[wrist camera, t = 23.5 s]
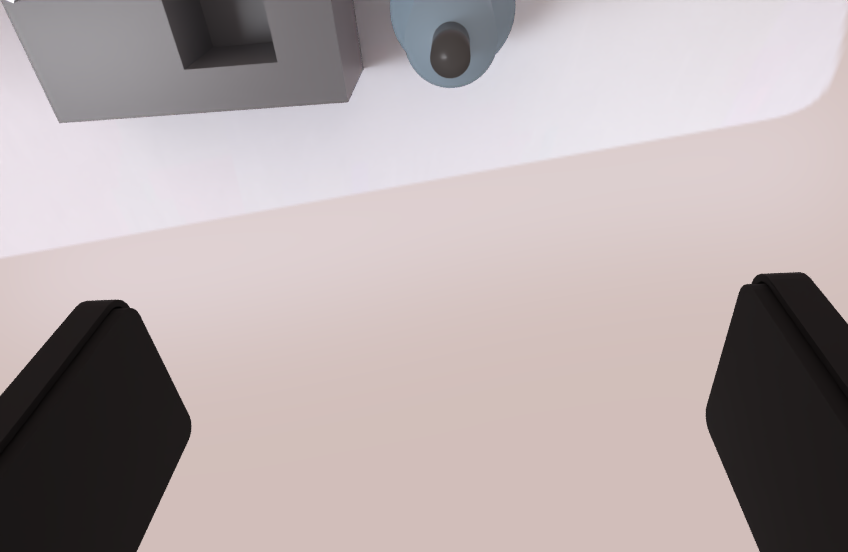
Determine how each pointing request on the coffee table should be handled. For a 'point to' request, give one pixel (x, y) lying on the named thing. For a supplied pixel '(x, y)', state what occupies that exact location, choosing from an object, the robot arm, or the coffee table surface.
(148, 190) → the coffee table surface
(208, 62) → the socket block
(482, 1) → the plug
